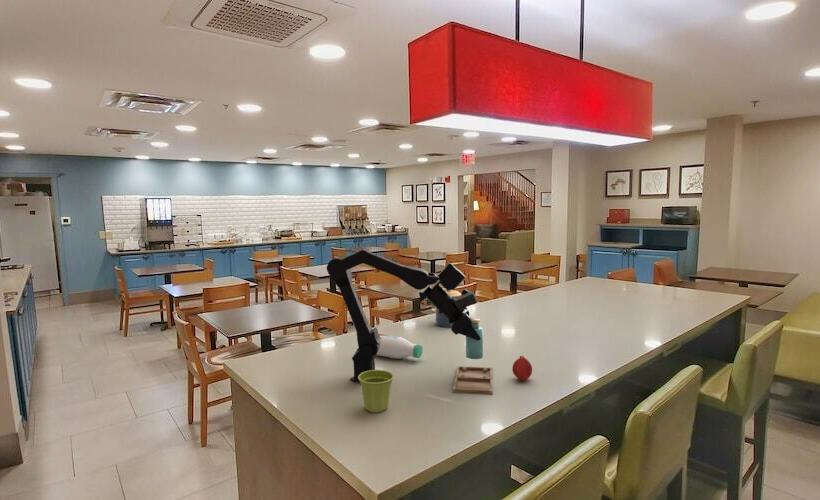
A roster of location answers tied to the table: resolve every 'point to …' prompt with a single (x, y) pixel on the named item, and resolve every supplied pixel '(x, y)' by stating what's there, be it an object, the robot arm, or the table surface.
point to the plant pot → (376, 389)
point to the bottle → (475, 342)
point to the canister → (440, 318)
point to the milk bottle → (398, 347)
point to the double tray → (473, 380)
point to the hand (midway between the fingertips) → (478, 337)
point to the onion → (522, 368)
